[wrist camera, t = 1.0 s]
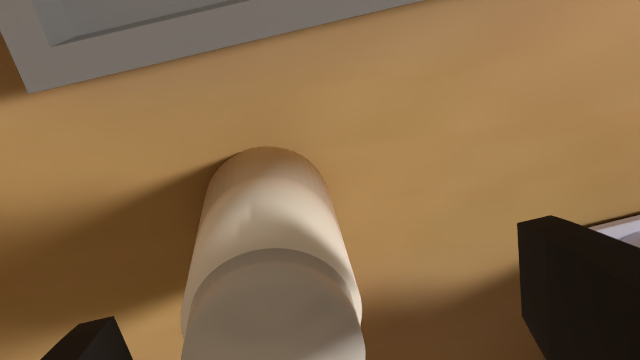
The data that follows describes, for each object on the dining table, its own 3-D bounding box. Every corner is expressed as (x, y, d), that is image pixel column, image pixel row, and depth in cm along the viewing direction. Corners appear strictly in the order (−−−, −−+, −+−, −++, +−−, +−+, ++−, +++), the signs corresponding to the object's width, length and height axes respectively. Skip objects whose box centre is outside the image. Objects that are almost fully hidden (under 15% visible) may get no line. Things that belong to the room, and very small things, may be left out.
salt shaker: (339, 242, 20) (388, 410, 12) (224, 270, 20) (206, 456, 12) (314, 133, 18) (354, 254, 11) (188, 163, 18) (142, 306, 11)
